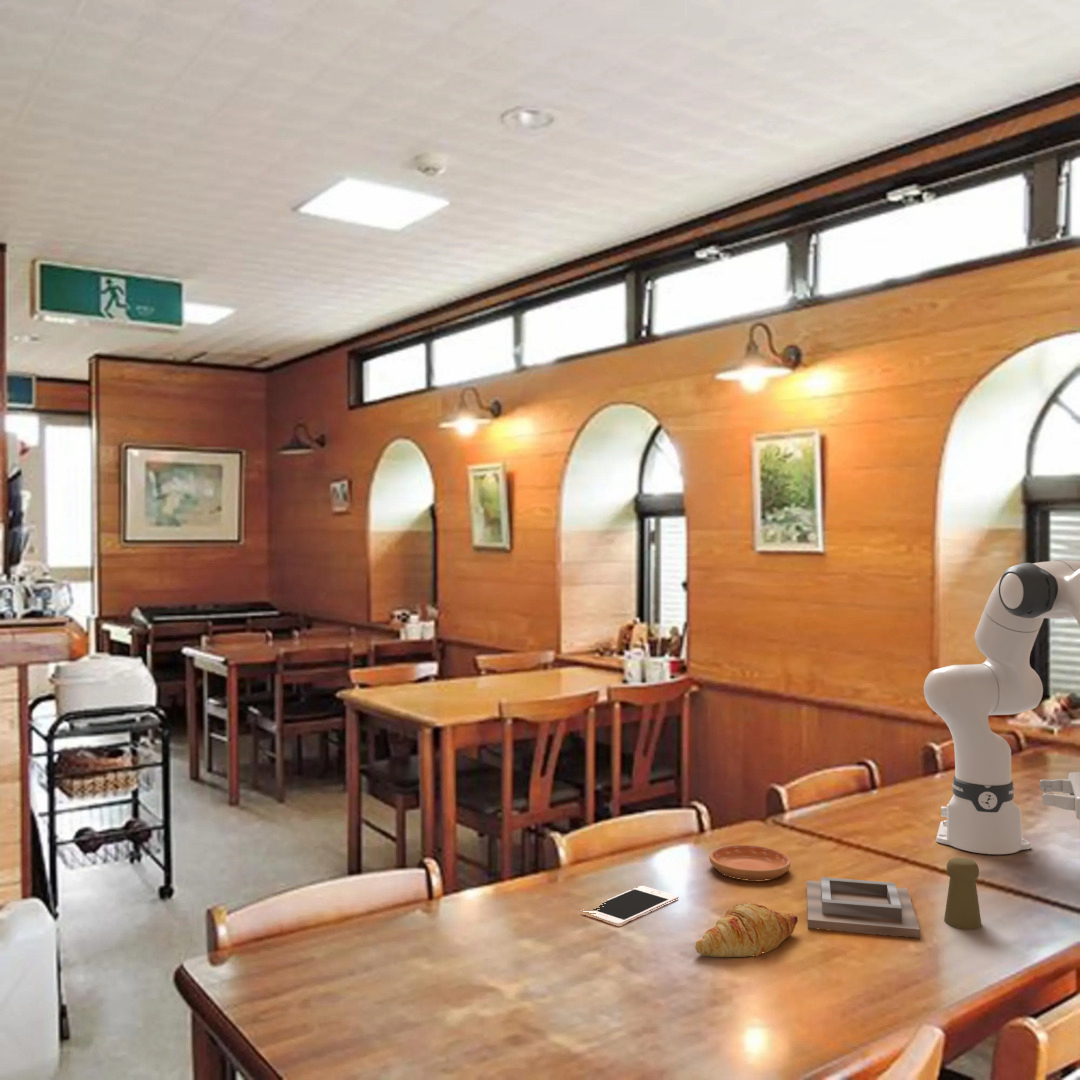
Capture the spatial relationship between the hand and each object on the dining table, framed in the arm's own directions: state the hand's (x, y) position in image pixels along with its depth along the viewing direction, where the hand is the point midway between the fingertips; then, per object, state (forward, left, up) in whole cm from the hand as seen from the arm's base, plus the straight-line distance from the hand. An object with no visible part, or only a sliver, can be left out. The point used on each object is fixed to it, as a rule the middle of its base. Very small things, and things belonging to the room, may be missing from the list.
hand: (1040, 791), depth 170 cm
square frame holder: (-3, -29, -24) cm, 38 cm away
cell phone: (+4, -69, -25) cm, 73 cm away
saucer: (-21, -49, -24) cm, 59 cm away
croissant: (+16, -48, -24) cm, 56 cm away
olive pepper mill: (-2, -12, -24) cm, 27 cm away
